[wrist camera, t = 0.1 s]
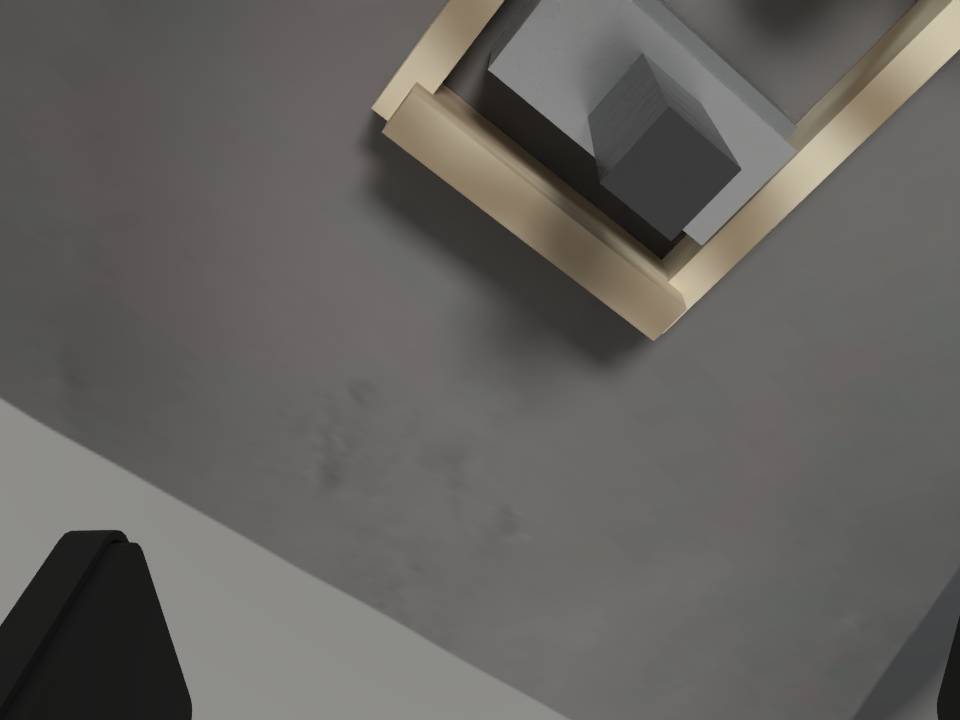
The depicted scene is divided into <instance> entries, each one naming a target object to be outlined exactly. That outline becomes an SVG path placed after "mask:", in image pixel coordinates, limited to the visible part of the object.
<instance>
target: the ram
mask: <svg viewBox="0 0 960 720" xmlns="http://www.w3.org/2000/svg"><path fill="white" fill-rule="evenodd" d="M488 70H489V71H490V72H491V73H493V74H494V75H495V76H496V77H498V78H499V79H500V80H501V81H502V82H504V83H505V84H506V85H507V86H508V87H510V88H511V89H512V90H513V91H515V92H516V93H517V94H518V95H519V96H521V97H522V98H523V99H524V100H525V101H527V102H528V103H529V104H530V105H532V106H533V107H534V108H535V109H536V110H538V111H539V112H540V113H541V114H542V115H544V116H545V117H546V118H547V119H549V120H550V121H551V122H552V123H553V124H555V125H556V126H557V127H558V128H559V129H561V130H562V131H563V132H564V133H566V134H567V135H568V136H569V137H570V138H572V139H573V140H574V141H575V142H576V143H578V144H579V145H580V146H581V147H583V148H584V149H585V150H586V151H587V152H589V153H590V154H591V155H592V156H593V157H595V161H596V166H597V172H598V178H599V183H600V184H601V185H602V186H604V187H605V188H606V189H607V190H609V191H610V192H611V193H612V194H614V195H615V196H616V197H617V198H618V199H620V200H621V201H622V202H623V203H625V204H626V205H627V206H628V207H629V208H631V209H632V210H633V211H634V212H636V213H637V214H638V215H639V216H641V217H642V218H643V219H644V220H645V221H647V222H648V223H649V224H650V225H652V226H653V227H654V228H655V229H656V230H658V231H659V232H660V233H661V234H663V235H664V236H665V237H666V238H668V239H669V240H670V241H672V240H673V239H674V238H675V237H676V236H677V235H678V234H679V233H680V232H681V231H682V230H683V231H685V232H686V233H687V234H688V235H689V236H691V237H692V238H693V239H694V240H695V241H697V242H698V243H699V244H700V245H703V244H704V243H705V242H706V241H707V240H708V239H709V238H710V237H711V236H712V235H713V234H714V233H715V232H716V231H717V230H718V229H719V228H720V227H721V226H722V225H723V224H724V223H725V222H726V221H727V220H728V219H729V218H731V217H732V216H733V215H734V214H735V213H736V212H737V211H738V210H739V209H740V208H741V207H742V206H743V205H744V204H745V203H746V202H747V201H748V200H749V199H750V198H751V197H752V196H753V195H754V194H755V193H756V192H757V191H758V190H759V189H760V188H761V187H762V186H763V185H764V184H765V183H766V182H767V181H768V180H769V179H770V178H771V177H772V176H773V175H774V174H775V173H776V172H777V171H778V170H779V169H780V168H781V167H782V166H783V165H784V164H785V163H786V162H787V161H788V160H789V159H790V158H791V157H792V156H793V155H794V154H795V153H796V152H797V150H796V149H795V148H794V147H793V145H792V144H791V143H790V142H789V141H788V139H787V138H788V137H789V136H790V135H791V134H792V133H793V132H794V131H795V130H796V129H797V126H796V125H795V124H794V123H793V122H792V121H791V120H790V119H789V117H788V116H787V115H786V114H785V113H784V112H783V111H782V110H781V108H780V107H779V106H778V105H777V104H776V103H774V102H773V101H772V100H771V99H770V98H769V97H768V96H767V95H766V94H765V93H763V92H762V91H761V90H760V89H759V88H758V87H757V86H756V85H755V84H754V83H753V82H751V81H750V80H749V79H748V78H747V77H746V76H745V75H744V74H743V73H742V72H740V71H739V70H738V69H737V68H736V67H735V66H734V65H733V64H732V63H731V62H729V61H728V60H727V59H726V58H725V57H724V56H723V55H722V54H721V53H720V52H719V51H717V50H716V49H715V48H714V47H713V46H712V45H711V44H710V43H709V42H708V41H706V40H705V39H704V38H703V37H702V36H701V35H700V34H699V33H698V32H697V31H695V30H694V29H693V28H692V27H691V26H690V25H689V24H688V23H687V22H686V21H685V20H683V19H682V18H681V17H680V16H679V15H678V14H677V13H676V12H675V11H674V10H672V9H671V8H670V7H669V6H668V5H667V4H666V3H665V2H664V1H663V0H529V1H528V2H527V3H526V5H525V6H524V7H523V8H522V10H521V11H520V12H519V14H518V15H517V16H516V18H515V19H514V20H513V21H512V23H511V24H510V25H509V27H508V28H507V29H506V31H505V32H504V33H503V34H502V36H501V37H500V38H499V40H498V41H497V42H496V44H495V45H494V46H493V47H492V52H491V57H490V61H489V66H488Z"/></svg>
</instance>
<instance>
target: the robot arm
mask: <svg viewBox="0 0 960 720" xmlns="http://www.w3.org/2000/svg"><path fill="white" fill-rule="evenodd" d="M937 714H938V720H960V617H959V621H958V624H957V628H956V632H955V636H954V639H953V643H952V647H951V651H950V654H949V658H948V662H947V666H946V669H945V673H944V677H943V681H942V685H941V688H940V692H939V696H938V701H937ZM191 718H192V703H191V699H190V695H189V692H188V689H187V686H186V683H185V680H184V677H183V673H182V671H181V667H180V664H179V661H178V658H177V655H176V652H175V649H174V646H173V643H172V640H171V637H170V634H169V630H168V627H167V624H166V621H165V618H164V615H163V612H162V609H161V606H160V603H159V600H158V597H157V594H156V591H155V587H154V584H153V582H152V578H151V575H150V572H149V569H148V566H147V563H146V560H145V557H144V554H143V551H142V549H141V547H140V546H139V545H138V544H137V543H129V541H128V539H127V537H126V535H124V533H123V532H121V531H118V530H94V531H70V532H68V533H65V534H64V536H63V537H62V538H61V539H60V540H59V541H58V543H57V544H56V546H55V547H54V549H53V550H52V552H51V553H50V554H49V556H48V557H47V559H46V560H45V562H44V563H43V565H42V566H41V568H40V569H39V571H38V572H37V573H36V575H35V576H34V578H33V579H32V581H31V582H30V584H29V585H28V587H27V588H26V589H25V591H24V592H23V594H22V595H21V597H20V598H19V600H18V601H17V603H16V604H15V606H14V607H13V608H12V610H11V611H10V613H9V614H8V616H7V617H6V619H5V620H4V622H3V623H2V624H1V626H0V720H191Z"/></svg>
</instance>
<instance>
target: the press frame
mask: <svg viewBox="0 0 960 720" xmlns="http://www.w3.org/2000/svg"><path fill="white" fill-rule="evenodd" d="M503 1H504V0H448V1H447V2H446V4H445V5H444V6H443V8H442V9H441V11H440V12H439V13H438V15H437V16H436V18H435V19H434V20H433V22H432V23H431V24H430V26H429V27H428V29H427V30H426V31H425V33H424V34H423V35H422V37H421V38H420V40H419V41H418V42H417V44H416V45H415V46H414V48H413V49H412V51H411V52H410V53H409V55H408V56H407V58H406V59H405V60H404V62H403V63H402V64H401V66H400V67H399V69H398V70H397V71H396V73H395V74H394V75H393V77H392V78H391V80H390V81H389V82H388V84H387V85H386V86H385V88H384V89H383V91H382V92H381V93H380V95H379V97H378V98H377V100H376V102H375V103H374V105H373V107H372V108H371V109H373V110H374V111H375V112H377V113H378V114H379V115H380V116H382V117H383V118H384V119H386V120H387V123H386V125H385V127H384V129H383V131H382V133H383V134H385V135H386V136H387V137H388V138H390V139H391V140H392V141H394V142H395V143H396V144H398V145H399V146H400V147H401V148H403V149H404V150H405V151H407V152H408V153H409V154H411V155H412V156H413V157H415V158H416V159H417V160H418V161H420V162H421V163H422V164H424V165H425V166H426V167H428V168H429V169H430V170H431V171H433V172H434V173H435V174H437V175H438V176H439V177H441V178H442V179H443V180H444V181H446V182H447V183H448V184H450V185H451V186H452V187H454V188H455V189H456V190H457V191H459V192H460V193H461V194H463V195H464V196H465V197H467V198H468V199H469V200H471V201H472V202H473V203H474V204H476V205H477V206H478V207H480V208H481V209H482V210H484V211H485V212H486V213H487V214H489V215H490V216H491V217H493V218H494V219H495V220H497V221H498V222H499V223H500V224H502V225H503V226H504V227H506V228H507V229H508V230H510V231H511V232H512V233H513V234H515V235H516V236H517V237H519V238H520V239H521V240H523V241H524V242H525V243H527V244H528V245H529V246H530V247H532V248H533V249H534V250H536V251H537V252H538V253H540V254H541V255H542V256H543V257H545V258H546V259H547V260H549V261H550V262H551V263H553V264H554V265H555V266H556V267H558V268H559V269H560V270H562V271H563V272H564V273H566V274H567V275H568V276H570V277H571V278H572V279H573V280H575V281H576V282H577V283H579V284H580V285H581V286H583V287H584V288H585V289H586V290H588V291H589V292H590V293H592V294H593V295H594V296H596V297H597V298H598V299H599V300H601V301H602V302H603V303H605V304H606V305H607V306H609V307H610V308H611V309H612V310H614V311H615V312H616V313H618V314H619V315H620V316H622V317H623V318H624V319H626V320H627V321H628V322H629V323H631V324H632V325H633V326H635V327H636V328H637V329H639V330H640V331H641V332H642V333H644V334H645V335H646V336H648V337H649V338H650V339H652V340H653V341H655V340H656V339H657V338H658V337H659V336H660V335H661V334H663V333H664V332H666V331H667V330H668V329H669V328H670V327H671V326H672V325H673V324H674V323H675V322H676V321H677V320H678V319H679V318H680V317H681V316H682V315H683V314H684V313H685V312H686V311H687V310H688V309H689V308H691V307H692V306H693V305H694V304H695V303H696V302H697V301H698V300H699V299H700V298H701V297H702V296H703V295H704V294H705V293H706V292H707V291H708V290H709V289H710V288H711V287H712V286H713V285H714V284H716V283H717V282H718V281H719V280H720V279H721V278H722V277H723V276H724V275H725V274H726V273H727V272H728V271H729V270H730V269H731V268H732V267H733V266H734V265H735V264H736V263H737V262H738V261H739V260H741V259H742V258H743V257H744V256H745V255H746V254H747V253H748V252H749V251H750V250H751V249H752V248H753V247H754V246H755V245H756V244H757V243H758V242H759V241H760V240H761V239H762V238H763V237H764V236H766V235H767V234H768V233H769V232H770V231H771V230H772V229H773V228H774V227H775V226H776V225H777V224H778V223H779V222H780V221H781V220H782V219H783V218H784V217H785V216H786V215H787V214H788V213H789V212H791V211H792V210H793V209H794V208H795V207H796V206H797V205H798V204H799V203H800V202H801V201H802V200H803V199H804V198H805V197H806V196H807V195H808V194H809V193H810V192H811V191H812V190H813V189H814V188H816V187H817V186H818V185H819V184H820V183H821V182H822V181H823V180H824V179H825V178H826V177H827V176H828V175H829V174H830V173H831V172H832V171H833V170H834V169H835V168H836V167H837V166H838V165H839V164H841V163H842V162H843V161H844V160H845V159H846V158H847V157H848V156H849V155H850V154H851V153H852V152H853V151H854V150H855V149H856V148H857V147H858V146H859V145H860V144H861V143H862V142H863V141H864V140H866V139H867V138H868V137H869V136H870V135H871V134H872V133H873V132H874V131H875V130H876V129H877V128H878V127H879V126H880V125H881V124H882V123H883V122H884V121H885V120H886V119H887V118H888V117H889V116H891V115H892V114H893V113H894V112H895V111H896V110H897V109H898V108H899V107H900V106H901V105H902V104H903V103H904V102H905V101H906V100H907V99H908V98H909V97H910V96H911V95H912V94H913V93H914V92H916V91H917V90H918V89H919V88H920V87H921V86H922V85H923V84H924V83H925V82H926V81H927V80H928V79H929V78H930V77H931V76H932V75H933V74H934V73H935V72H936V71H937V70H938V69H939V68H941V67H942V66H943V65H944V64H945V63H946V62H947V61H948V60H949V59H950V58H951V57H952V56H953V55H954V54H955V53H956V52H957V51H958V50H959V49H960V0H918V1H917V3H916V4H915V5H914V6H913V7H912V8H911V9H910V10H909V11H908V12H907V13H906V14H905V15H904V16H903V17H902V18H901V19H900V20H899V21H898V22H897V23H896V24H895V25H894V26H893V27H892V28H891V29H890V30H889V31H888V32H887V33H886V34H885V35H884V36H883V37H882V38H881V39H880V40H879V41H878V42H877V43H876V44H875V45H874V46H873V47H872V48H871V49H870V50H869V51H868V52H867V53H866V54H865V55H864V56H863V57H862V58H861V59H860V60H859V61H858V62H857V63H856V64H855V65H854V66H853V67H852V68H851V69H850V70H849V71H848V72H847V73H846V74H845V75H844V76H843V77H842V78H841V79H840V80H839V81H838V82H837V83H836V84H835V85H834V86H833V87H832V88H831V89H830V90H829V91H828V92H827V93H826V94H825V95H824V96H823V97H822V98H821V99H820V100H819V101H818V103H817V104H816V105H815V106H814V107H813V108H812V109H811V110H810V111H809V112H808V113H807V114H806V115H805V116H804V117H803V118H802V119H801V120H800V121H799V122H798V123H797V124H796V126H797V129H796V130H795V131H794V132H793V133H792V134H791V135H790V136H789V137H788V138H787V139H788V141H789V142H790V143H791V144H792V145H793V147H794V148H795V149H796V150H797V152H796V153H795V154H794V155H793V156H792V157H791V158H790V159H789V160H788V161H787V162H786V163H785V164H784V165H783V166H782V167H781V168H780V169H779V170H778V171H777V172H776V173H775V174H774V175H773V176H772V177H771V178H770V179H769V180H768V181H767V182H766V183H765V184H764V185H763V186H762V187H761V188H760V189H759V190H758V191H757V192H756V193H755V194H754V195H753V196H752V197H751V198H750V199H749V200H748V201H747V202H746V203H745V204H744V205H743V206H742V207H741V208H740V209H739V210H738V211H737V212H736V213H735V214H734V215H733V216H732V217H731V218H729V219H728V220H727V221H726V222H725V223H724V224H723V225H722V226H721V227H720V228H719V229H718V230H717V231H716V232H715V233H714V234H713V235H712V236H711V237H710V238H709V239H708V240H707V241H706V242H705V243H704V244H703V245H700V244H699V243H698V242H697V241H695V240H694V239H693V238H692V237H691V236H689V235H688V234H687V235H686V236H685V237H684V238H683V239H682V240H681V241H680V242H679V243H678V244H677V245H676V246H675V247H674V248H673V249H672V250H671V251H670V252H669V253H668V254H667V255H666V256H665V257H664V258H663V259H662V260H661V259H660V258H659V257H658V256H656V255H655V254H654V253H653V252H652V251H650V250H649V249H648V248H647V247H645V246H644V245H643V244H642V243H640V242H639V241H638V240H637V239H635V238H634V237H633V236H632V235H630V234H629V233H628V232H627V231H625V230H624V229H623V228H622V227H620V226H619V225H618V224H617V223H615V222H614V221H613V220H612V219H610V218H609V217H608V216H607V215H606V214H604V213H603V212H602V211H601V210H599V209H598V208H597V207H596V206H594V205H593V204H592V203H591V202H589V201H588V200H587V199H586V198H584V197H583V196H582V195H581V194H579V193H578V192H577V191H576V190H574V189H573V188H572V187H571V186H569V185H568V184H567V183H566V182H564V181H563V180H562V179H561V178H559V177H558V176H557V175H556V174H555V173H553V172H552V171H551V170H550V169H548V168H547V167H546V166H545V165H543V164H542V163H541V162H540V161H538V160H537V159H536V158H535V157H533V156H532V155H531V154H530V153H528V152H527V151H526V150H525V149H523V148H522V147H521V146H520V145H518V144H517V143H516V142H515V141H513V140H512V139H511V138H510V137H508V136H507V135H506V134H505V133H504V132H502V131H501V130H500V129H499V128H497V127H496V126H495V125H494V124H492V123H491V122H490V121H489V120H487V119H486V118H485V117H484V116H482V115H481V114H480V113H479V112H477V111H476V110H475V109H474V108H472V107H471V106H470V105H469V104H467V103H466V102H465V101H464V100H462V99H461V98H460V97H459V96H458V95H456V94H455V93H454V92H453V91H451V90H450V89H449V88H448V87H446V86H445V85H444V84H443V83H442V82H443V81H444V79H445V78H446V77H447V75H448V74H449V73H450V72H451V70H452V69H453V68H454V66H455V65H456V64H457V62H458V61H459V60H460V58H461V57H462V56H463V54H464V53H465V52H466V50H467V49H468V48H469V46H470V45H471V44H472V42H473V41H474V40H475V38H476V37H477V36H478V35H479V33H480V32H481V31H482V29H483V28H484V27H485V25H486V24H487V23H488V21H489V20H490V19H491V17H492V16H493V15H494V13H495V12H496V11H497V9H498V8H499V7H500V5H501V4H502V3H503Z"/></svg>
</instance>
